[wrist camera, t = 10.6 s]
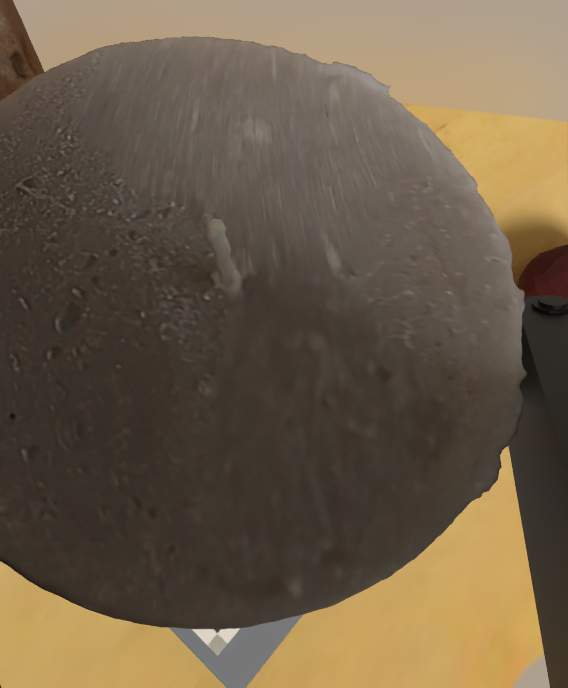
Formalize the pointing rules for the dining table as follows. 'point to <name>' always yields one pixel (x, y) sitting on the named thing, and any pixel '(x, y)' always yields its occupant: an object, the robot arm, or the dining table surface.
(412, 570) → the dining table surface
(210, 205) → the pillar candle
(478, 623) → the dining table surface
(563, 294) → the potato
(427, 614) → the dining table surface
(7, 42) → the block
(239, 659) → the slate tile
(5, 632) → the dining table surface
